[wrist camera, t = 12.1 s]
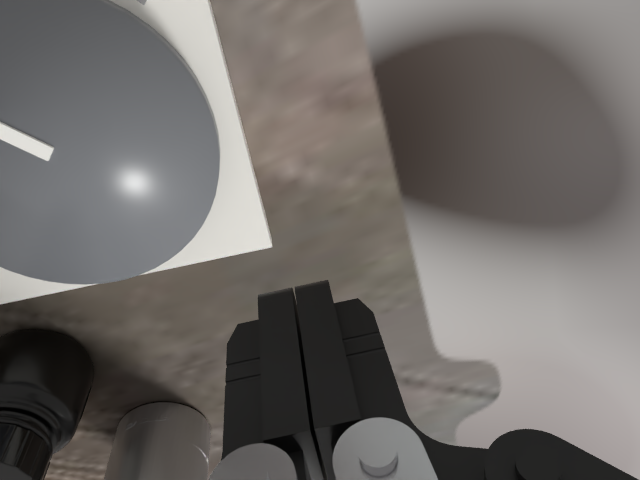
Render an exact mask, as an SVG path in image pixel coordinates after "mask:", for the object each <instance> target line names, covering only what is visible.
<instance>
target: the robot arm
mask: <svg viewBox="0 0 640 480" xmlns="http://www.w3.org/2000/svg"><path fill="white" fill-rule="evenodd" d="M295 294H296V299H295V296H294V292H293V289H292V288H288V289H283V290H279V291H274V292H269V293H265V294H260V295H258V316H259V320H255V321H250V322H245V323H241V324H238V325H237V327H236V328H235V330H234V332H233V334H232V336H231V338H230V340H229V341H228V343H227V360H226V365H227V368H226V386H225V407H224V431H223V452H222V459H221V462H220V463H219V464H218V465H217V466H216V468H215V469H214V470H213V472H212V474H211V475H210V478H209V480H638V479H636V478H634V477H633V476H631V475H629V474H627V473H625V472H623V471H621V470H619V469H617V468H615V467H614V466H612V465H610V464H608V463H606V462H604V461H602V460H601V459H599V458H597V457H595V456H593V455H591V454H589V453H587V452H585V451H584V450H582V449H580V448H578V447H576V446H574V445H572V444H570V443H568V442H567V441H565V440H563V439H561V438H559V437H557V436H555V435H552V434H550V433H547V432H543V431H539V430H533V429H520V430H515V431H510V432H508V433H506V434H503V435H501V436H500V437H499V438H497V439H496V440H495V441H494V442H493V443H492V444H491V446H490V447H489V449H483V448H472V447H461V446H453V445H448V444H444V443H441V442H438V441H436V440H434V439H431V438H430V437H428V436H426V435H425V434H423V433H422V432H421V431H420V430H419V429H418V428H417V427H416V426H415V425H414V424H413V423H412V421H411V420H410V418H409V416H408V414H407V412H406V409H405V406H404V403H403V400H402V397H401V394H400V391H399V388H398V385H397V382H396V379H395V376H394V373H393V370H392V367H391V364H390V361H389V359H388V356H387V353H386V351H385V347H384V344H383V341H382V338H381V335H380V332H379V329H378V326H377V323H376V320H375V317H374V314H373V312H372V311H371V310H370V309H369V308H368V307H367V306H366V305H365V304H363V303H362V302H361V301H360V300H359V299H358V298H357V299H352V300H347V301H343V302H338V303H333V298H332V294H331V290H330V286H329V282H328V280H325V281H320V282H316V283H311V284H306V285H301V286H297V287H295ZM296 301H297V303H296ZM210 435H211V432H210V426H209V423H208V421H207V420H206V419H205V417H204V416H203V415H202V414H200V413H199V412H198V411H196V410H194V409H192V408H190V407H188V406H185V405H181V404H177V403H170V402H158V403H151V404H146V405H143V406H140V407H138V408H136V409H133V410H131V411H130V412H129V413H127V414H126V415H125V416H124V417H123V418H122V419H121V421H120V422H119V425H118V427H117V430H116V434H115V438H114V442H113V446H112V450H111V454H110V458H109V461H108V465H107V469H106V473H105V477H104V480H207V477H208V465H209V450H210Z"/></svg>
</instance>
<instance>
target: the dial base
mask: <svg viewBox="0 0 640 480" xmlns="http://www.w3.org/2000/svg"><path fill="white" fill-rule="evenodd" d="M110 1H112V2H113V3H115V4H117V5H119V6H121V7H123V8H125V9H126V10H128V11H130V12H131V13H133V14H134V15H136V16H137V17H139V18H140V19H141V20H143V21H144V22H146V23H147V24H149V25H150V26H151V27H152V28H153V29H155V30H156V31H157V32H158V33H159V34H160V35H161V36H163V37H164V38H165V39H166V40H167V41H168V42H169V43H170V44H171V45H172V46H173V47H174V49H175V50H176V51H177V52H178V53H179V54H180V55H181V56H182V57H183V59H184V60H185V61H186V63H187V64H188V66H189V67H190V68H191V70H192V71H193V73H194V74H195V75H196V77H197V79H198V81H199V83H200V84H201V86H202V88H203V90H204V92H205V94H206V96H207V98H208V101H209V103H210V106H211V108H212V111H213V113H214V117H215V121H216V125H217V129H218V134H219V143H220V171H219V179H218V185H217V190H216V195H215V198H214V201H213V204H212V207H211V210H210V212H209V214H208V216H207V218H206V220H205V222H204V224H203V226H202V227H201V228H200V230H199V231H198V232H197V234H196V235H195V237H194V238H193V239H192V240H191V241H190V242H189V243H188V244H187V245H186V246H185V247H184V248H183V249H182V250H181V251H180V252H179V253H177V254H176V255H175V256H174V257H172V258H171V259H170V260H168V261H167V262H165V263H163V264H161V265H160V266H158V267H156V268H155V269H152V270H150V271H148V272H145V273H143V274H147V273H152V272H156V271H161V270H166V269H171V268H175V267H180V266H185V265H190V264H194V263H199V262H204V261H209V260H213V259H218V258H223V257H228V256H232V255H237V254H242V253H247V252H251V251H256V250H261V249H266V248H270V247H272V239H271V234H270V230H269V226H268V222H267V218H266V215H265V211H264V207H263V203H262V199H261V195H260V191H259V188H258V184H257V180H256V176H255V172H254V168H253V165H252V161H251V157H250V153H249V149H248V145H247V141H246V138H245V134H244V130H243V126H242V122H241V118H240V114H239V111H238V107H237V103H236V99H235V95H234V91H233V87H232V84H231V80H230V76H229V72H228V68H227V64H226V60H225V57H224V53H223V49H222V45H221V41H220V37H219V34H218V30H217V26H216V22H215V18H214V14H213V10H212V7H211V3H210V0H110ZM141 275H142V274H141ZM90 285H95V284H64V283H56V282H48V281H44V280H40V279H35V278H31V277H27V276H24V275H21V274H18V273H15V272H11V271H9V270H6V269H4V268H2V267H0V304H5V303H9V302H14V301H19V300H24V299H28V298H33V297H38V296H43V295H47V294H52V293H57V292H62V291H66V290H71V289H76V288H81V287H85V286H90Z"/></svg>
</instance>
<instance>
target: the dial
mask: <svg viewBox="0 0 640 480" xmlns="http://www.w3.org/2000/svg"><path fill="white" fill-rule="evenodd" d="M219 171H220V143H219V134H218V129H217V125H216V121H215V117H214V113H213V111H212V108H211V106H210V103H209V101H208V98H207V96H206V94H205V92H204V90H203V88H202V86H201V84H200V83H199V81H198V79H197V77H196V75H195V74H194V73H193V71H192V70H191V68H190V67H189V66H188V64H187V63H186V61H185V60H184V59H183V57H182V56H181V55H180V54H179V53H178V52H177V51H176V50H175V49H174V47H173V46H172V45H171V44H170V43H169V42H168V41H167V40H166V39H165V38H164V37H163V36H161V35H160V34H159V33H158V32H157V31H156V30H155V29H153V28H152V27H151V26H150V25H149V24H147V23H146V22H144V21H143V20H141V19H140V18H139V17H137V16H136V15H134V14H133V13H131V12H130V11H128V10H126V9H125V8H123V7H121V6H119V5H117V4H115V3H113V2H112V1H110V0H0V267H2V268H4V269H6V270H9V271H11V272H15V273H18V274H21V275H24V276H27V277H31V278H35V279H40V280H44V281H48V282H56V283H64V284H101V283H109V282H114V281H120V280H124V279H128V278H131V277H135V276H138V275H141V274H143V273H145V272H148V271H150V270H152V269H155V268H156V267H158V266H160V265H161V264H163V263H165V262H167V261H168V260H170V259H171V258H172V257H174V256H175V255H176V254H177V253H179V252H180V251H181V250H182V249H183V248H184V247H185V246H186V245H187V244H188V243H189V242H190V241H191V240H192V239H193V238H194V237H195V235H196V234H197V232H198V231H199V230H200V228H201V227H202V226H203V224H204V222H205V220H206V218H207V216H208V214H209V212H210V210H211V207H212V204H213V201H214V198H215V195H216V190H217V185H218V179H219Z"/></svg>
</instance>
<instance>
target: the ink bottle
mask: <svg viewBox="0 0 640 480" xmlns="http://www.w3.org/2000/svg"><path fill="white" fill-rule="evenodd" d="M93 378H94V366H93V362H92V360H91V358H90V356H89V354H88V353H87V351H86V350H85V349H84V348H83V347H82V346H81V345H80V344H79V343H78V342H76V341H75V340H73V339H72V338H70V337H68V336H65V335H63V334H60V333H57V332H52V331H46V330H21V331H16V332H12V333H9V334H6V335H4V336H2V337H0V480H44V478H45V475H46V473H47V470H48V467H49V464H50V460H51V458H52V454H54V453H56V452H58V451H59V450H61V449H62V448H64V447H65V446H66V445H67V444H68V443H69V442H70V440H71V439H72V437H73V436H74V434H75V432H76V429H77V426H78V423H79V421H80V419H81V417H82V414H83V411H84V408H85V405H86V402H87V399H88V396H89V393H90V390H91V387H92V386H91V385H92V382H93Z"/></svg>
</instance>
